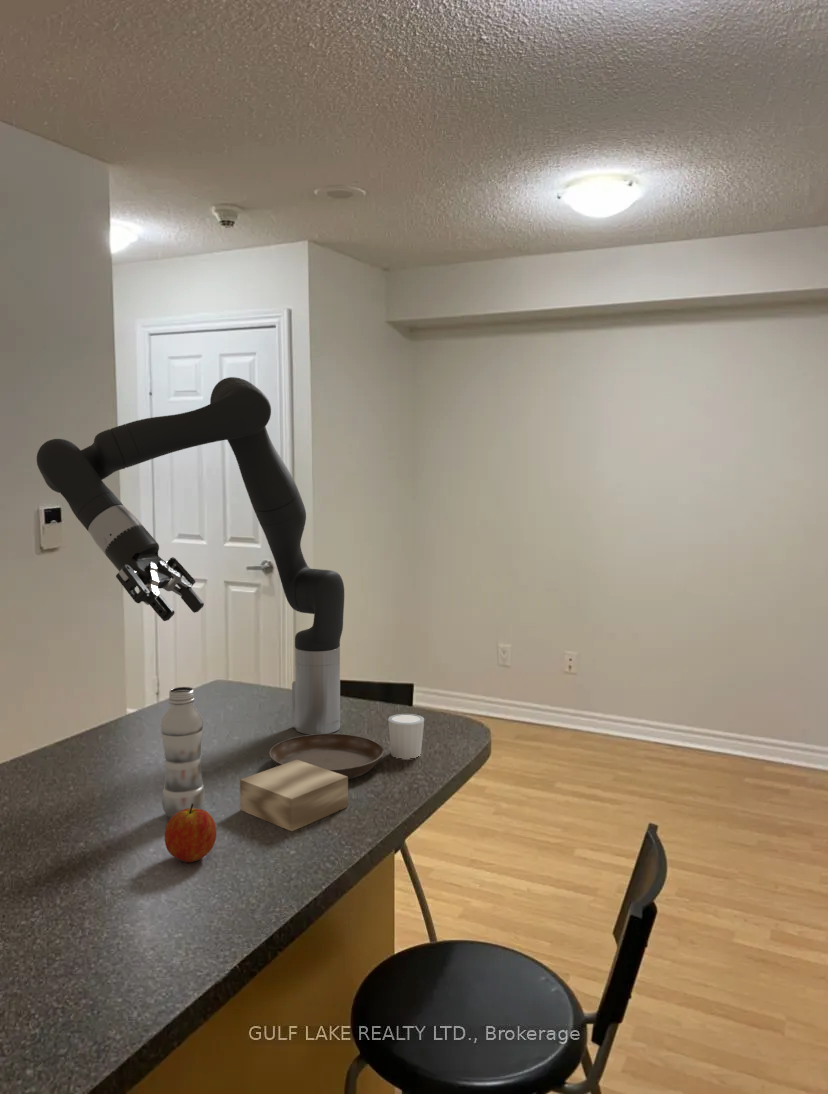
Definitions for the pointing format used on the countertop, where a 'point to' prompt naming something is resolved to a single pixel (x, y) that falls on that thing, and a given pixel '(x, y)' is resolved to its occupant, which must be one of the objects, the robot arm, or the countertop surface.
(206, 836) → the fruit
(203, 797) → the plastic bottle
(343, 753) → the plant saucer
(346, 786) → the block
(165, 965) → the countertop surface
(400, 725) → the white cup
